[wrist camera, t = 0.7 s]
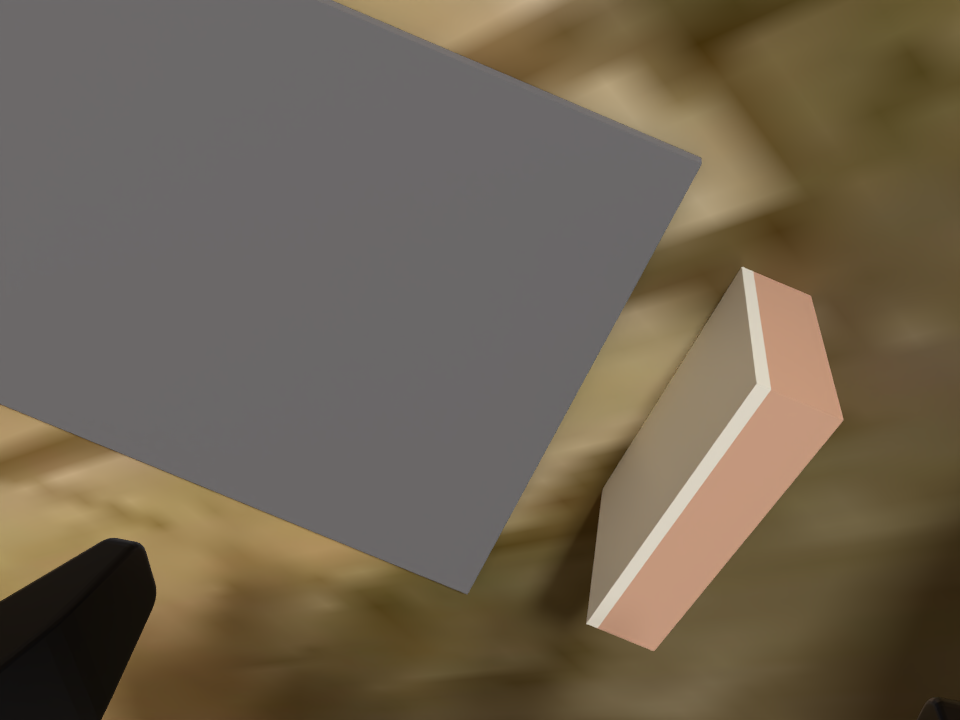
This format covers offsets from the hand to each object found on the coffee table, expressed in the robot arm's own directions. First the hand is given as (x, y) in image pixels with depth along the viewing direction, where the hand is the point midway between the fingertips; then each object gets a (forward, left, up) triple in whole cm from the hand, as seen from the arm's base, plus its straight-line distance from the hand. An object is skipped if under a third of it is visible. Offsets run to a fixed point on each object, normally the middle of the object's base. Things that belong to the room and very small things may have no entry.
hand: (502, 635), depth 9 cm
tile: (-5, +4, -13) cm, 14 cm away
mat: (+7, +6, -12) cm, 16 cm away
